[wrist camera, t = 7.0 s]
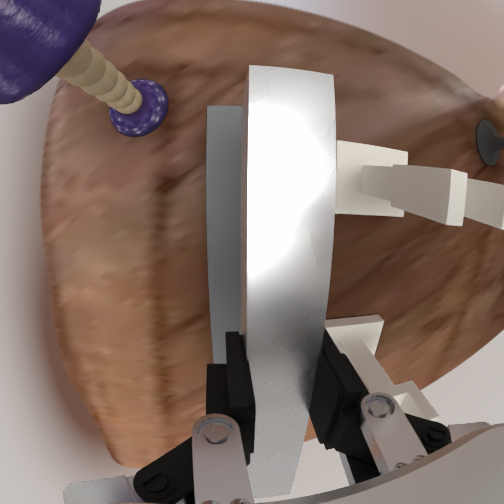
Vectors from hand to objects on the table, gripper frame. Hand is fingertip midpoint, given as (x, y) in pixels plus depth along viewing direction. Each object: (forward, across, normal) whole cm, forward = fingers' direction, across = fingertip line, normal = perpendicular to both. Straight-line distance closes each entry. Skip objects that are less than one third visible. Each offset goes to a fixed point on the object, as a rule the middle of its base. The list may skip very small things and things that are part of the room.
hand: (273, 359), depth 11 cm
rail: (-1, 0, 0) cm, 1 cm away
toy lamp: (+10, +7, -12) cm, 17 cm away
